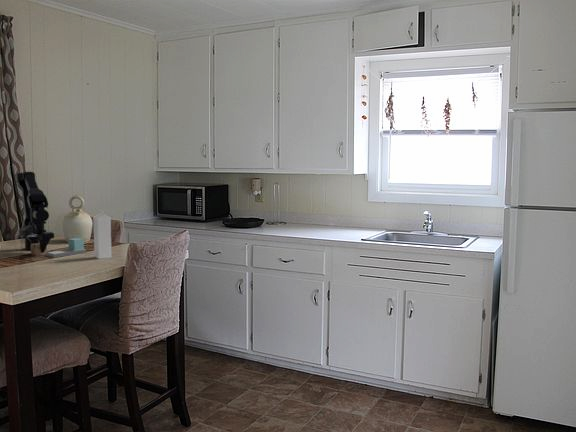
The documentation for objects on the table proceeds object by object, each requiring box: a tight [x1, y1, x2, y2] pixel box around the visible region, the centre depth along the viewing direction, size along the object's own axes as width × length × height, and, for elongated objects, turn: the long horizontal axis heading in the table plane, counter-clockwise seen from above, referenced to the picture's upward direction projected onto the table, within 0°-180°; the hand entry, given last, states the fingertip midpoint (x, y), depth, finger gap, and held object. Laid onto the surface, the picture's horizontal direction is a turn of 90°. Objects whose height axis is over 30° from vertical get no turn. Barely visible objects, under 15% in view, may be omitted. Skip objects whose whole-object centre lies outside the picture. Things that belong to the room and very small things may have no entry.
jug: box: [61, 195, 93, 243], centre depth 309 cm, size 15×16×25 cm
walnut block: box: [30, 243, 48, 256], centre depth 272 cm, size 5×5×5 cm
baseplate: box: [45, 248, 88, 259], centre depth 272 cm, size 7×17×2 cm, turn 143°
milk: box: [92, 209, 112, 260], centre depth 264 cm, size 6×6×22 cm
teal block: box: [67, 238, 85, 251], centre depth 276 cm, size 5×5×5 cm
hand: (38, 252), depth 272 cm, fingers open, 6 cm apart
